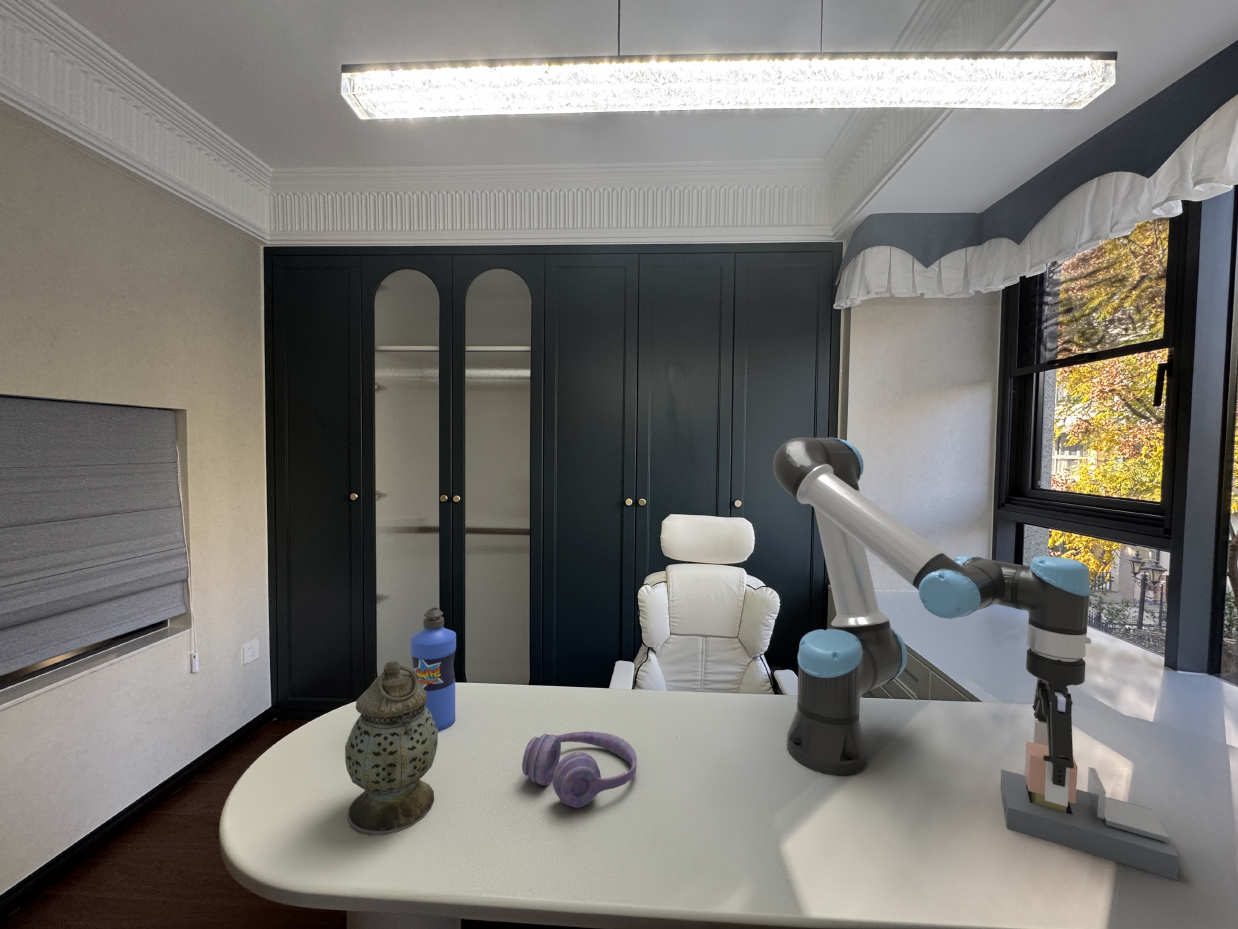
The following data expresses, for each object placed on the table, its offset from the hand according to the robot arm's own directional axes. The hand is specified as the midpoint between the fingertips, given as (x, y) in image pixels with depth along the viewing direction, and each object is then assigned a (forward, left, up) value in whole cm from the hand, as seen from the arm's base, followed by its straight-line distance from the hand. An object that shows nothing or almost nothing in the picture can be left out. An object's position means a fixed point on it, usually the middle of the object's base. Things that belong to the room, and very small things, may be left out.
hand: (1048, 779), depth 90 cm
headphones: (-72, -31, -7) cm, 78 cm away
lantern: (-94, -55, -7) cm, 109 cm away
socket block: (+4, 0, -7) cm, 8 cm away
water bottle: (-110, -33, -7) cm, 115 cm away
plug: (0, 0, -7) cm, 7 cm away
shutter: (+10, 0, -3) cm, 10 cm away
